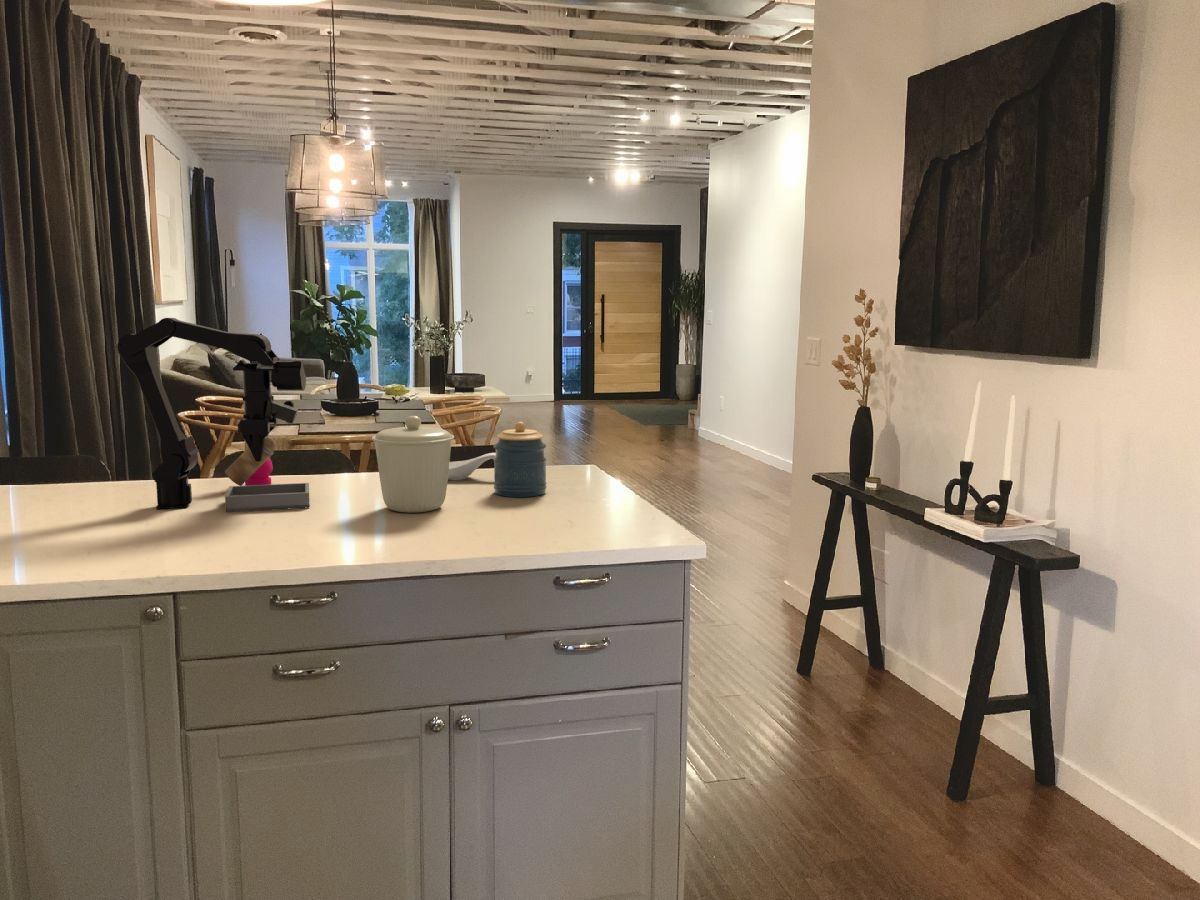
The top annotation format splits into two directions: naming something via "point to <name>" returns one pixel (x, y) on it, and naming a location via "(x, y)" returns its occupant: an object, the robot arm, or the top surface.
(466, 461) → the spoon rest
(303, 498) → the dish
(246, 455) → the shaker
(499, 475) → the canister
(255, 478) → the pepper mill
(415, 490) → the canister
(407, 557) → the top surface
